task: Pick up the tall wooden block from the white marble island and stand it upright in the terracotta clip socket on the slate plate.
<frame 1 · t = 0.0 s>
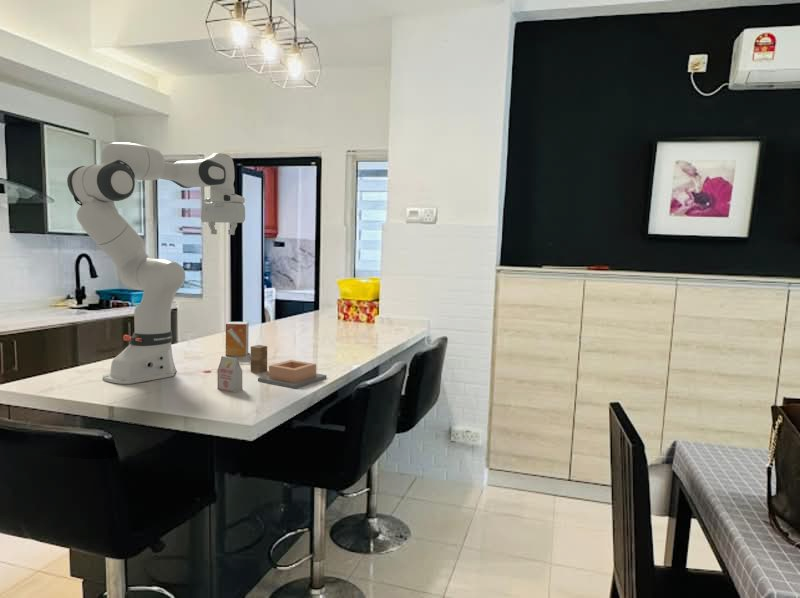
hand: (222, 234, 200), 48 cm above the table, fingers open, 8 cm apart
clip stand: (292, 379, 175), on the table
tall wooden block: (258, 371, 185), on the table
small box: (237, 354, 211), on the table
white carton: (230, 390, 161), on the table
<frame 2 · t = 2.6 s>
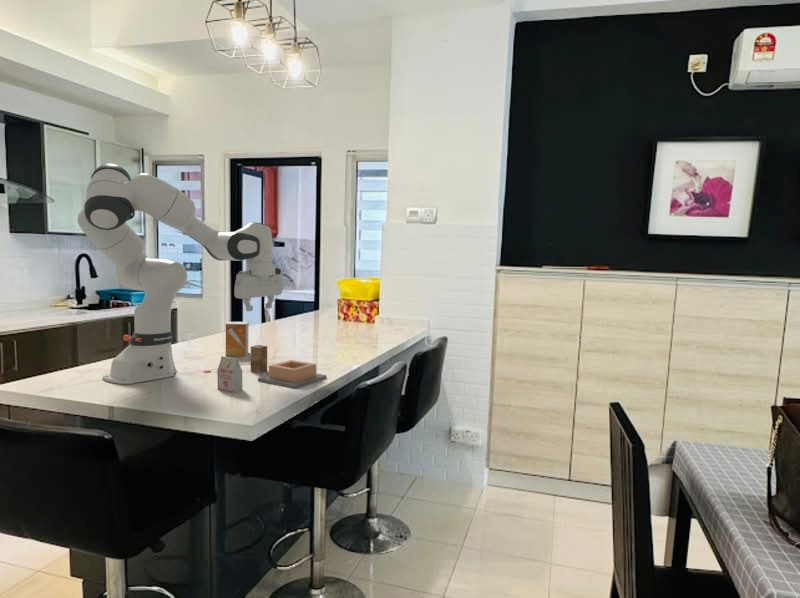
hand: (259, 309, 182), 22 cm above the table, fingers open, 8 cm apart
nothing on the table moved.
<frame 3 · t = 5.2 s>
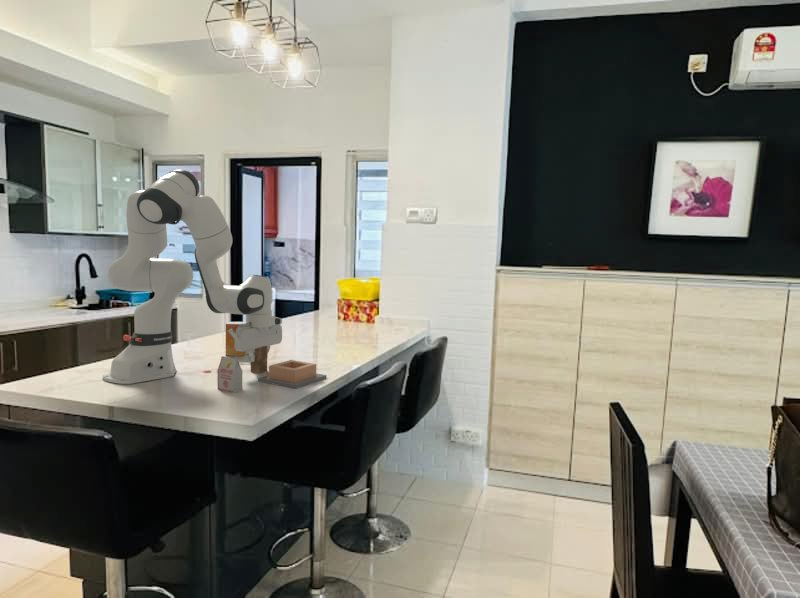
hand: (259, 359, 184), 4 cm above the table, fingers closed on tall wooden block, 4 cm apart
tall wooden block: (259, 371, 185), on the table, touching gripper
everything else where it was.
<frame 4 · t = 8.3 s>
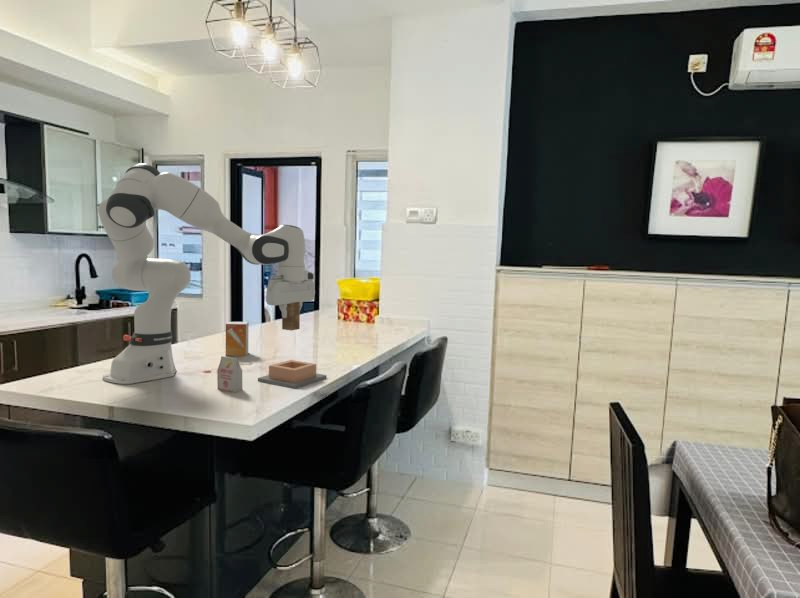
hand: (291, 316, 172), 21 cm above the table, fingers closed on tall wooden block, 4 cm apart
tall wooden block: (290, 329, 173), point 17 cm above the table, touching gripper
everything else where it was.
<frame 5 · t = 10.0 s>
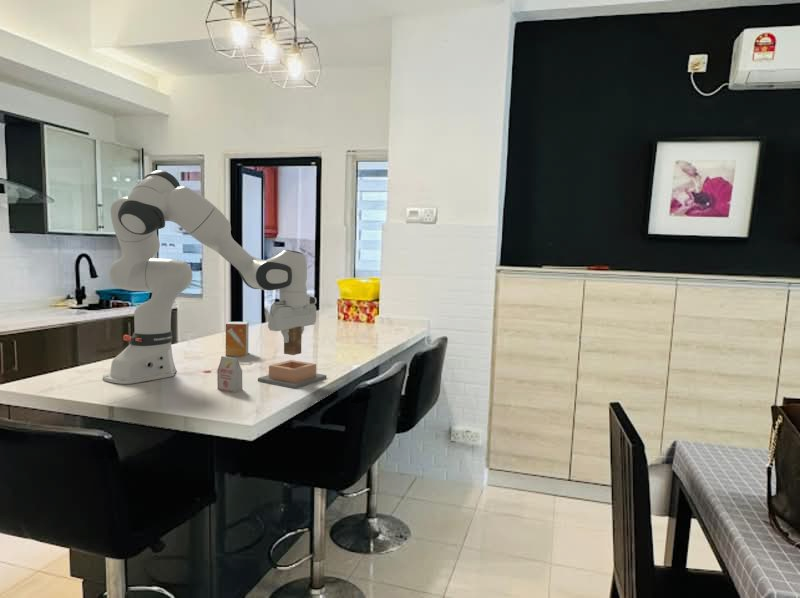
hand: (292, 341, 173), 13 cm above the table, fingers closed on tall wooden block, 4 cm apart
tall wooden block: (292, 353, 173), point 9 cm above the table, touching gripper
everything else where it was.
when the fingers open (7 cm above the table, at t = 11.5 s): tall wooden block drops 2 cm, resting on clip stand.
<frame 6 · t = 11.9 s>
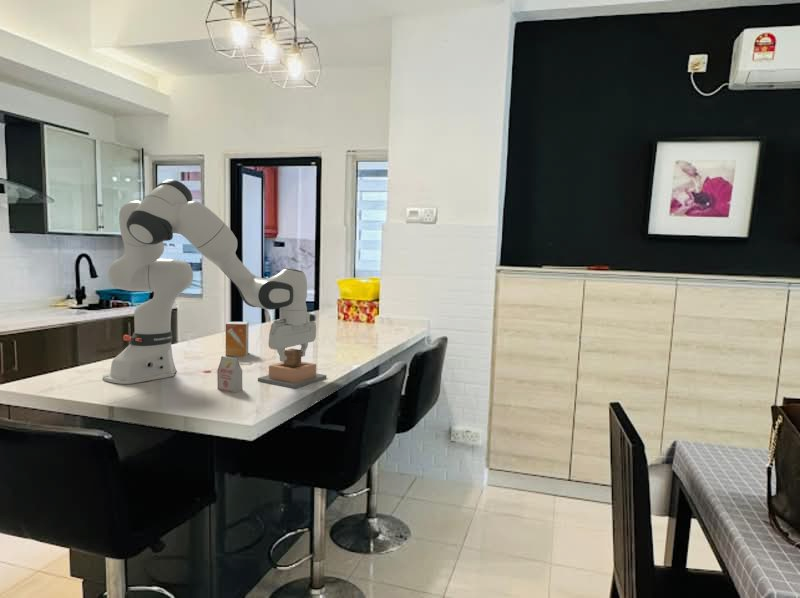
hand: (292, 358, 174), 7 cm above the table, fingers open, 8 cm apart
tall wooden block: (292, 376, 175), point 1 cm above the table, touching clip stand
everything else where it was.
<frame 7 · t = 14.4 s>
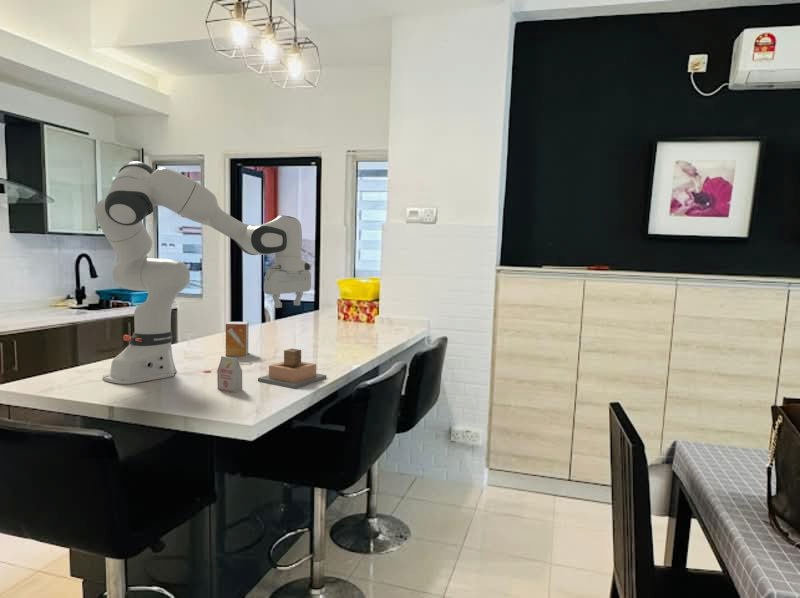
hand: (287, 306, 175), 24 cm above the table, fingers open, 8 cm apart
nothing on the table moved.
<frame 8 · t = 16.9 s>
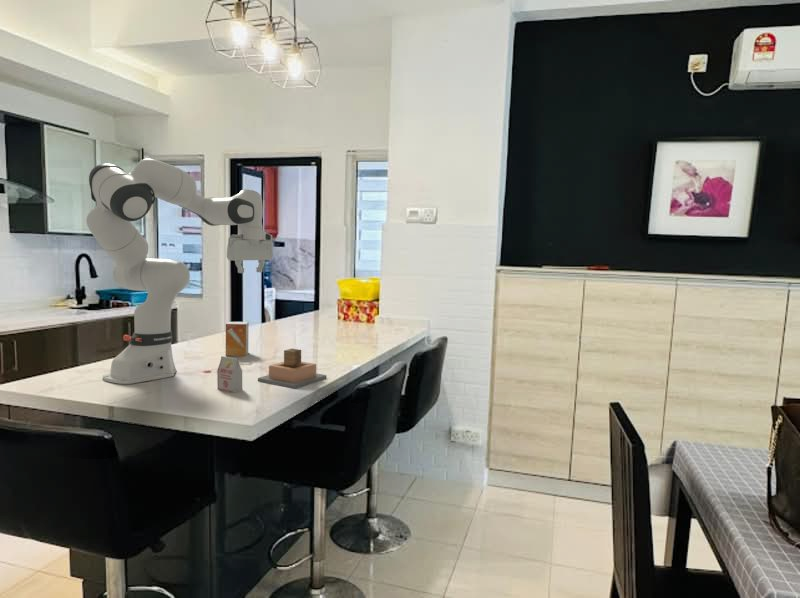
hand: (250, 272, 194), 34 cm above the table, fingers open, 8 cm apart
nothing on the table moved.
at the end: tall wooden block 0.1 cm off-centre on the clip stand, point 1.0 cm above the clip stand's base; tall wooden block tilted 0°; the gripper is holding nothing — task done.
